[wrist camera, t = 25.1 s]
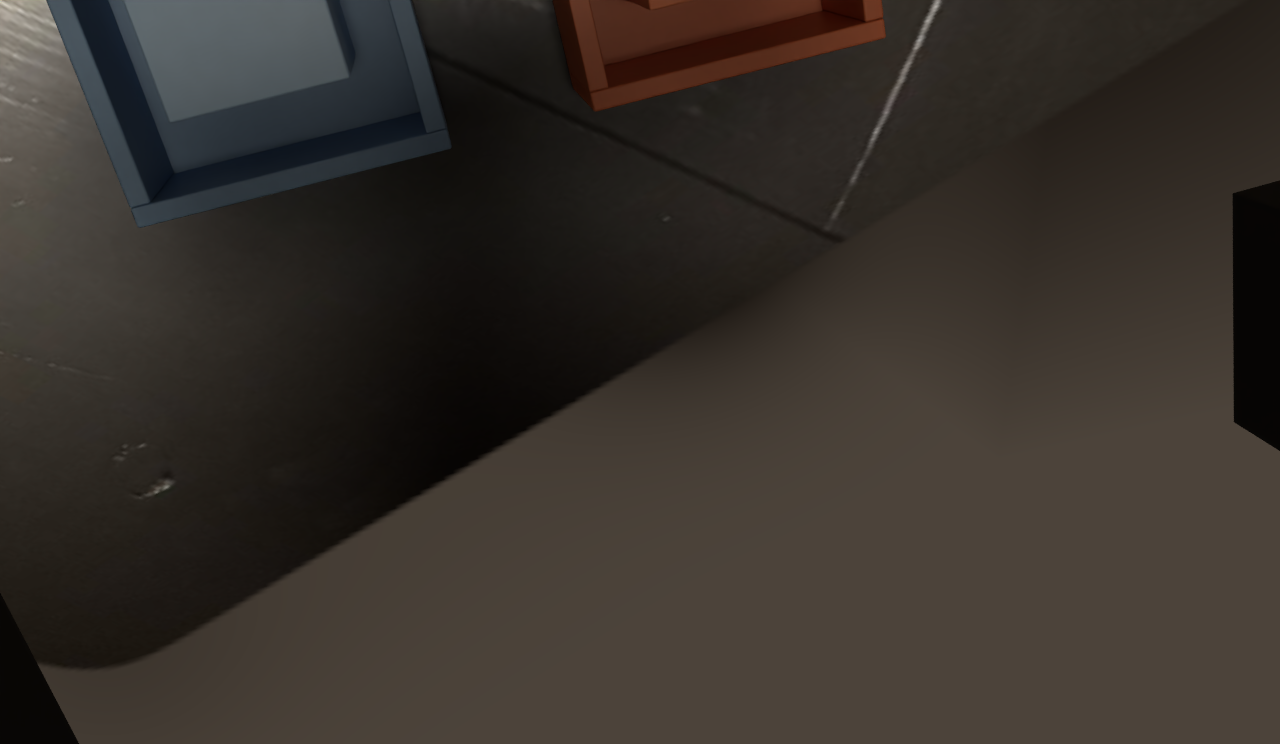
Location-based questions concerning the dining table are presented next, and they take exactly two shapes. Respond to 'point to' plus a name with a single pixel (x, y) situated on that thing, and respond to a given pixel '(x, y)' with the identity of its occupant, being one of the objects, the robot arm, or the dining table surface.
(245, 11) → the slate-blue block
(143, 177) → the slate-blue bin
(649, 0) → the terracotta block
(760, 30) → the terracotta bin
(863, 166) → the dining table surface
